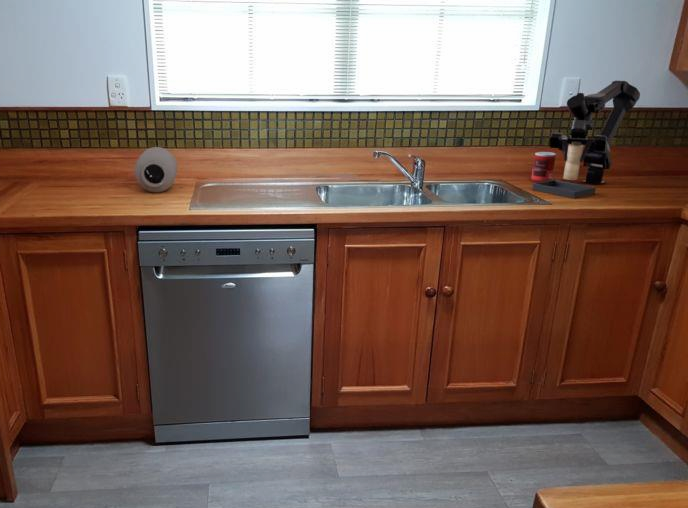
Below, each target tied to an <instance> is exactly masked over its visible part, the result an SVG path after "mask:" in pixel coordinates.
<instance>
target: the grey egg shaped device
mask: <svg viewBox="0 0 688 508" xmlns="http://www.w3.org/2000/svg"><path fill="white" fill-rule="evenodd" d="M133 171H134V173H133V174H134V178H135V180H136V183H138V185H139V186H140V187H141V188H142V189H144V190H145V191H147V192H149V193H154V194H155V193H162V192H166V191H167V190H169V189H170V187H172V185H173V184H174V183H175V180H176V177H177V174H178V163H177V160H176V158H175V155H174V154H173V153H172V152H171V151H170V150H168V149H166V148H164V147H160V146H153V147H149V148H147V149H146V150H144V151H143V152H142V153H141V154H140V156H139V158H137V160H136V162H135V165H134V169H133Z"/></svg>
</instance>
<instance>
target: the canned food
mask: <svg viewBox="0 0 688 508" xmlns="http://www.w3.org/2000/svg"><path fill="white" fill-rule="evenodd" d="M556 156H557V154H556V153H555V152H551V151H536V152H535V154H534V158H533V163H532V164H533V166H532V172H531V182H535V183H539V182H544V181H550V180H553V173H554V168H555V162H556Z"/></svg>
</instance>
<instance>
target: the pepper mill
mask: <svg viewBox="0 0 688 508" xmlns="http://www.w3.org/2000/svg"><path fill="white" fill-rule="evenodd" d="M581 143H582V142H572V144H568V146H567V158H566V161H565V164H564V169H563V175H562V176H563V177H562V179H563V180H566V181H567V180H568V181H577V180H578V178H579V173H580V167H581V162H580V160H581V156H582V153H583V151H584V145H581Z"/></svg>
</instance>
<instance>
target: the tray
mask: <svg viewBox="0 0 688 508" xmlns="http://www.w3.org/2000/svg"><path fill="white" fill-rule="evenodd" d="M531 190H532V191H535V192H541V193H547V194H551V195H556V196H560V197H566V198H569V199H570V198H571V199H578V198H582V197H587V196H592V195H595V194H596V191H597V187H595V186H590V185H584V184H579V183H575V182H569V181H564V180H559V179H558V180H557V179H551V180H550V181H544V182H535V183H532V189H531Z"/></svg>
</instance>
